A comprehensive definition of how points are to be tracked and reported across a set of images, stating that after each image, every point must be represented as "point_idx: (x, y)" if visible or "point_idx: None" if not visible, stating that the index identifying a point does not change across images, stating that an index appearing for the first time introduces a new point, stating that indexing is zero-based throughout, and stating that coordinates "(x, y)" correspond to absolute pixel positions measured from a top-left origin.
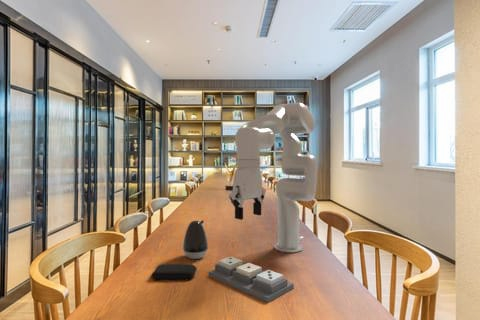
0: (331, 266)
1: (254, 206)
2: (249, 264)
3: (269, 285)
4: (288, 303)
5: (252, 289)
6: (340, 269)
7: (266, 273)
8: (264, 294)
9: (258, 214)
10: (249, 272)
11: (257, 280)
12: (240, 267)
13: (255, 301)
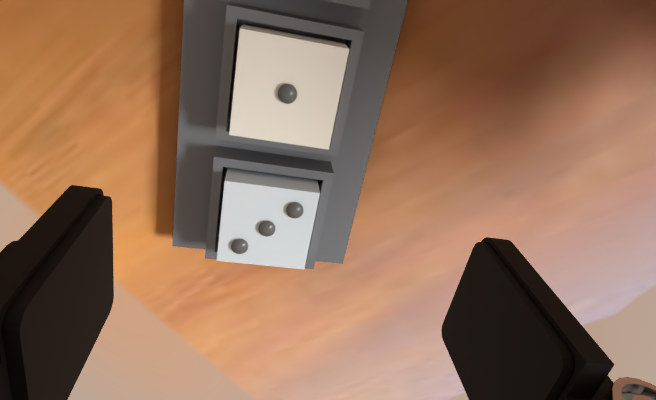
0: (610, 279)
1: (522, 339)
2: (327, 70)
3: (212, 244)
4: (222, 285)
5: (186, 165)
6: (588, 310)
7: (272, 207)
8: (185, 224)
9: (448, 321)
10: (229, 134)
11: (220, 180)
12: (254, 51)
13: (151, 196)
